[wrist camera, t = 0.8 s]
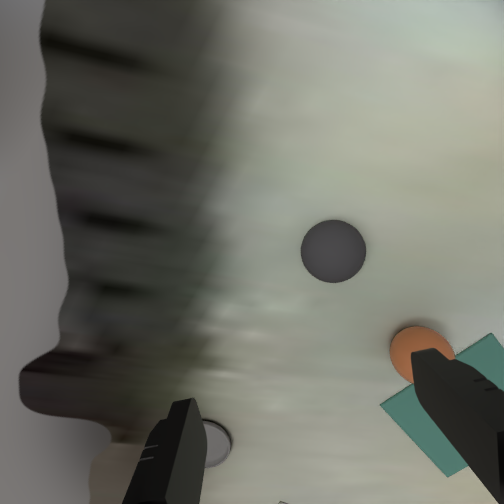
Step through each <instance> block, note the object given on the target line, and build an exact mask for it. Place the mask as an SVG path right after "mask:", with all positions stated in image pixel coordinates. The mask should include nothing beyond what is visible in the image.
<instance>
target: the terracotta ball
mask: <svg viewBox="0 0 504 504" xmlns="http://www.w3.org/2000/svg"><path fill="white" fill-rule="evenodd" d="M429 348H436V349H437V350H438V351H439V352H441V353H442V354H443V355H444V356H445V357H446V358H448V359H449V360H453V359H455V354H454V351H453V349H452V347H451V345H450V344H449V342H448V341H447V340H446V339H445V338H444V337H443V336H442V335H440V334H439V333H438V332H436V331H434V330H432V329H429V328H426V327H419V326H415V327H409V328H406V329H404V330H402V331H400V332H399V333H398V334H397V335H396V336H395V337H394V339H393V340H392V343H391V346H390V358H391V361H392V364H393V366H394V368H395V369H396V371H397V372H398V373H399V374H400V375H401V376H402V377H403V378H404V379H406V380H407V381H409V382H411V383H413V384H414V381H413V373H412V365H411V353H412V352H415V351H419V350H424V349H429Z"/></svg>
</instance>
